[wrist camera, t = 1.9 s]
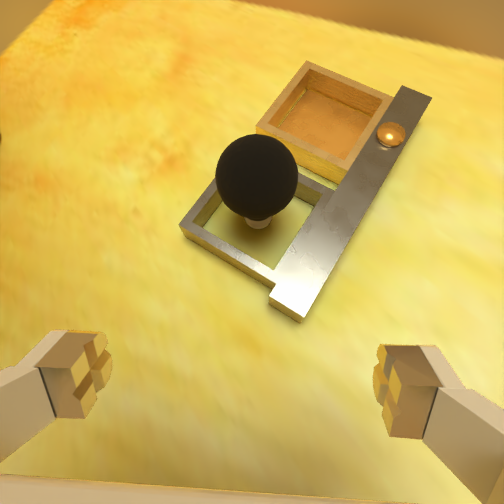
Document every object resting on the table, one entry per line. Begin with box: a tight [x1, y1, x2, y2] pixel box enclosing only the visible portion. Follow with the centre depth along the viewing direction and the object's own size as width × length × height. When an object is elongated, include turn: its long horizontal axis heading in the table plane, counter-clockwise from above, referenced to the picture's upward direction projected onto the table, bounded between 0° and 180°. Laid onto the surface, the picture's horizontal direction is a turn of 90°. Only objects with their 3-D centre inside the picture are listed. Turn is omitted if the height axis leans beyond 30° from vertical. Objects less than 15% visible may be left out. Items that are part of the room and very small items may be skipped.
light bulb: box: [215, 134, 298, 229], centre depth 26 cm, size 6×6×10 cm
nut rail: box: [179, 60, 432, 323], centre depth 30 cm, size 13×24×3 cm, turn 147°
